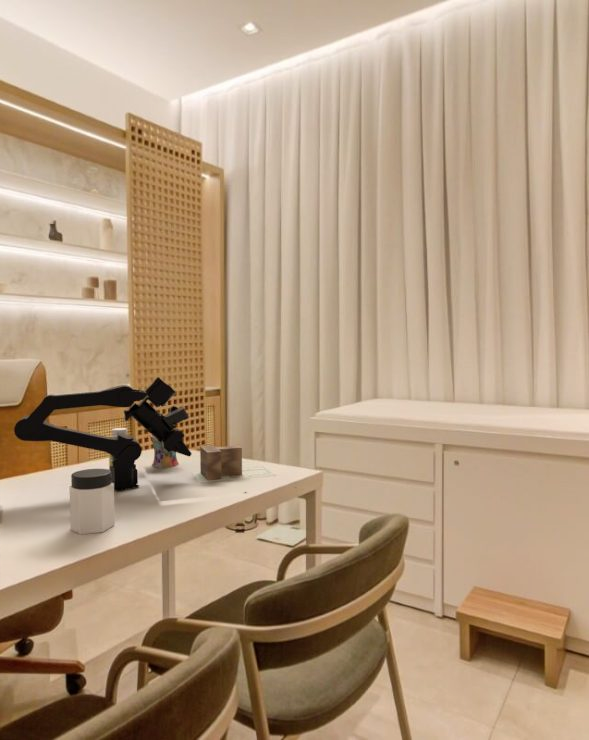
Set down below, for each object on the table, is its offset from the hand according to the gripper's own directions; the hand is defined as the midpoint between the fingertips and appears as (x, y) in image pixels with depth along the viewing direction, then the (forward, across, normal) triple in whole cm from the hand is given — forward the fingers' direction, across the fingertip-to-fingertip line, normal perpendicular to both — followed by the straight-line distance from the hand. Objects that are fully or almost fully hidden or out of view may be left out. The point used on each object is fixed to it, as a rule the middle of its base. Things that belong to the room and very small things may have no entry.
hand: (190, 455), depth 155 cm
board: (+15, 0, -4) cm, 15 cm away
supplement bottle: (-7, +24, +18) cm, 31 cm away
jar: (-14, -32, +25) cm, 42 cm away
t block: (+11, 0, -2) cm, 11 cm away
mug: (+3, +22, +8) cm, 23 cm away
